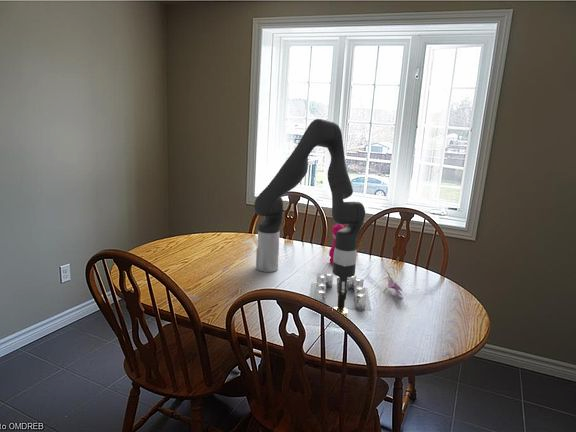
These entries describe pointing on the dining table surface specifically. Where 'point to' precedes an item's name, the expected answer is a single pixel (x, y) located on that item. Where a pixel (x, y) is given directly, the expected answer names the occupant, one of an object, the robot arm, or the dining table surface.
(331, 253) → the pepper mill
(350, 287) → the spacers
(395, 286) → the lily
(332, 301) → the board
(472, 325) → the dining table surface
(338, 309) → the nut
